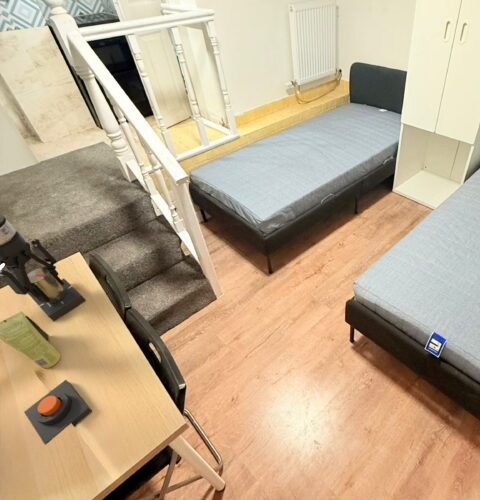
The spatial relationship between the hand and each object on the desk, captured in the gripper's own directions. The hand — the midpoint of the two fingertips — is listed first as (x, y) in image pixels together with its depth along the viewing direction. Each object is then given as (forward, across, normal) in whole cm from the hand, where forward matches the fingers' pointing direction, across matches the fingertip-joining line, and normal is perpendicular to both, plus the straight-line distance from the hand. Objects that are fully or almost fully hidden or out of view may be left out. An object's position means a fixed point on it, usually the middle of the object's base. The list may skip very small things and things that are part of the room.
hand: (52, 292), depth 105 cm
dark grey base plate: (+5, -32, -23) cm, 40 cm away
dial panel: (+5, 0, 0) cm, 5 cm away
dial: (+2, 0, 0) cm, 2 cm away
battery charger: (+5, -16, -5) cm, 17 cm away
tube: (+5, -19, -11) cm, 23 cm away
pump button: (+1, -32, -23) cm, 39 cm away
